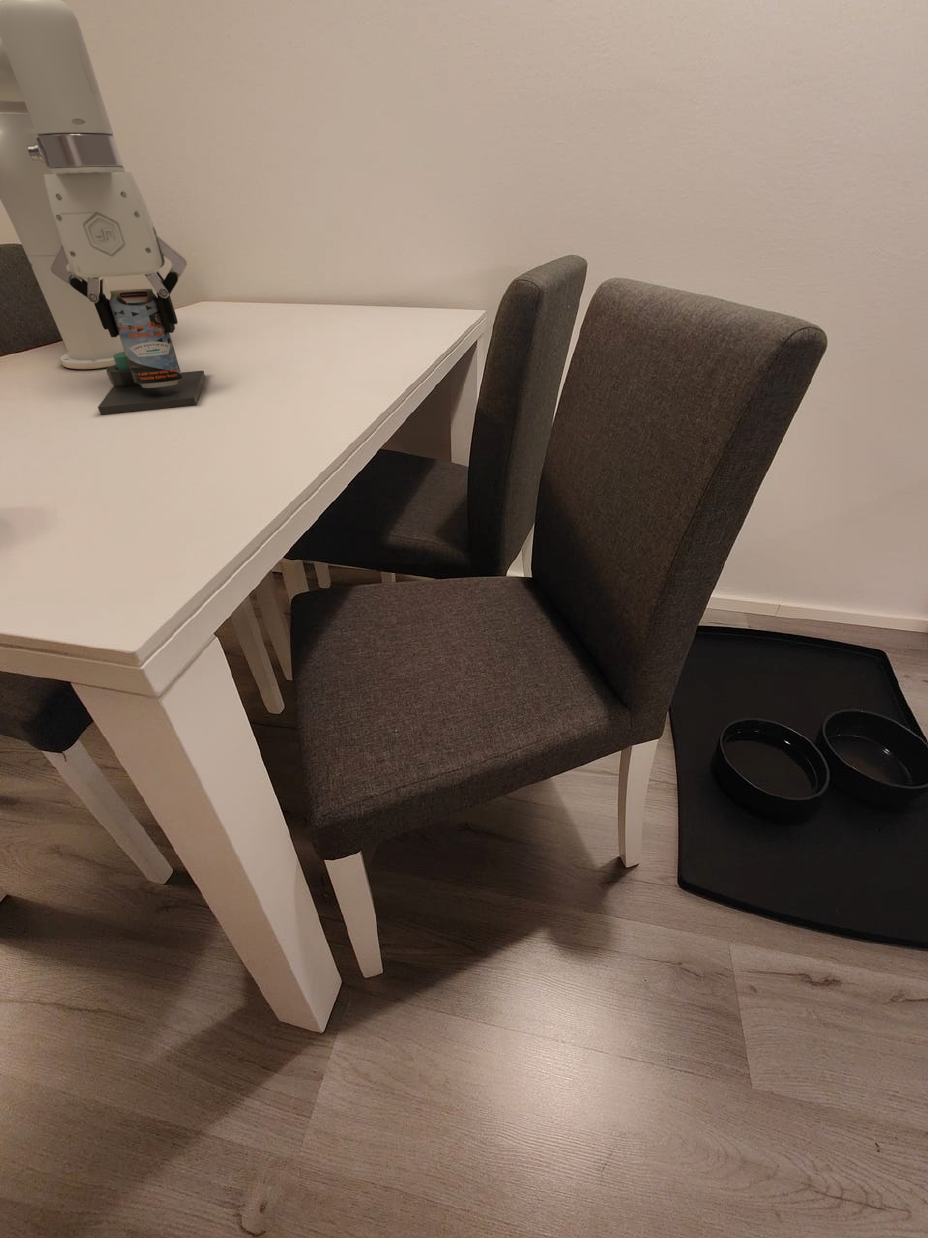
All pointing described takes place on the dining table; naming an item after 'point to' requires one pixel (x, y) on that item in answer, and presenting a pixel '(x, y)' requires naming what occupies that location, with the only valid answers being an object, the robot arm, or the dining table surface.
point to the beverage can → (144, 338)
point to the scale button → (121, 361)
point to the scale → (149, 393)
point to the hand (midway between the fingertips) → (143, 331)
